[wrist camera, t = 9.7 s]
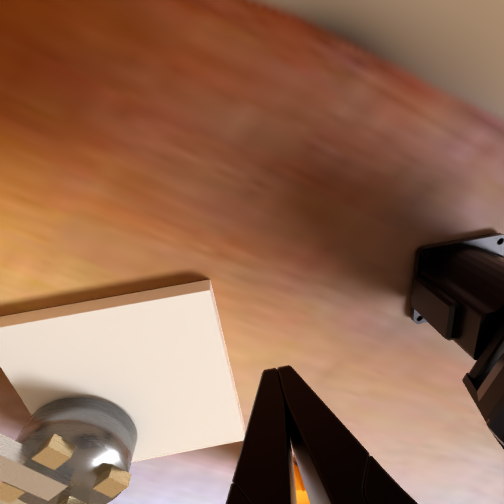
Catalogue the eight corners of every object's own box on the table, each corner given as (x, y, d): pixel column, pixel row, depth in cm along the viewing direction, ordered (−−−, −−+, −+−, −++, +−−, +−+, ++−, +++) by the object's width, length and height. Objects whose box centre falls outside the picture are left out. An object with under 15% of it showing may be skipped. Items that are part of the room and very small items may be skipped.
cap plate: (210, 279, 21) (209, 290, 20) (244, 424, 27) (245, 440, 26) (-6, 317, 21) (-23, 331, 19) (77, 456, 27) (69, 474, 25)
